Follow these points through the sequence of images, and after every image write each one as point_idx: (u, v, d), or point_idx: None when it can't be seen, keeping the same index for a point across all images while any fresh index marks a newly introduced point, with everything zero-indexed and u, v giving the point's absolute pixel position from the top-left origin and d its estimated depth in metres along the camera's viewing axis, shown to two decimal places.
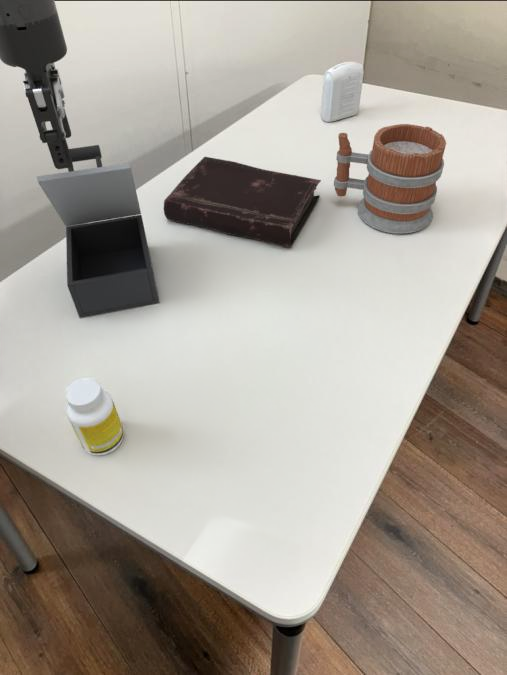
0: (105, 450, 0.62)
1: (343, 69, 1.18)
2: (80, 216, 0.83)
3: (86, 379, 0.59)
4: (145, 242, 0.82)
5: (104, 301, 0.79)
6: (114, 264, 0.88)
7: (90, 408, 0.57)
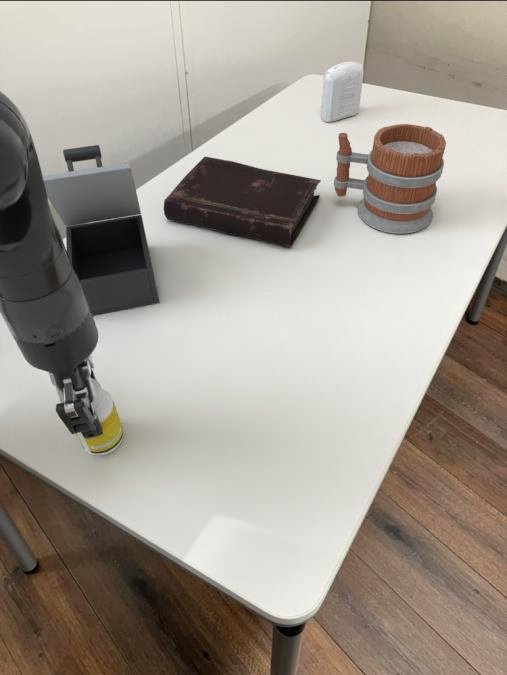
0: (105, 450, 0.62)
1: (343, 69, 1.18)
2: (80, 216, 0.83)
3: None
4: (145, 242, 0.82)
5: (104, 301, 0.79)
6: (114, 264, 0.88)
7: None
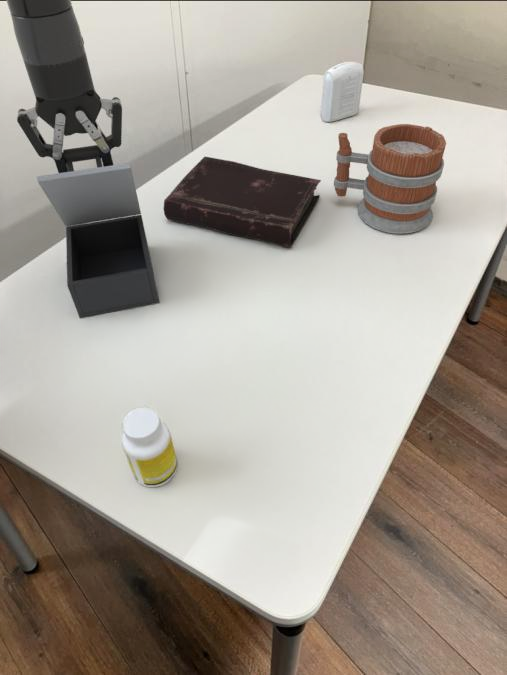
0: (160, 482, 0.59)
1: (343, 69, 1.18)
2: (80, 216, 0.83)
3: (143, 409, 0.56)
4: (145, 242, 0.82)
5: (104, 301, 0.79)
6: (114, 264, 0.88)
7: (149, 440, 0.54)
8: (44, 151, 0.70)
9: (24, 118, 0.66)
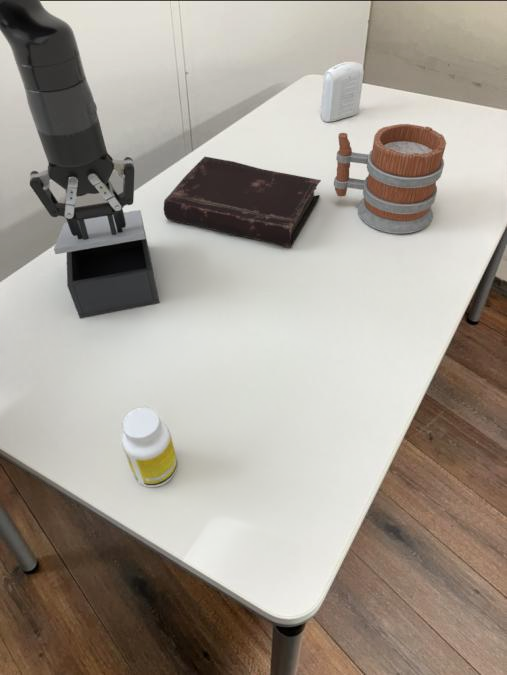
0: (160, 482, 0.59)
1: (343, 69, 1.18)
2: None
3: (143, 409, 0.56)
4: (145, 242, 0.82)
5: (104, 301, 0.79)
6: (114, 264, 0.88)
7: (149, 440, 0.54)
8: (56, 211, 0.70)
9: (37, 182, 0.66)
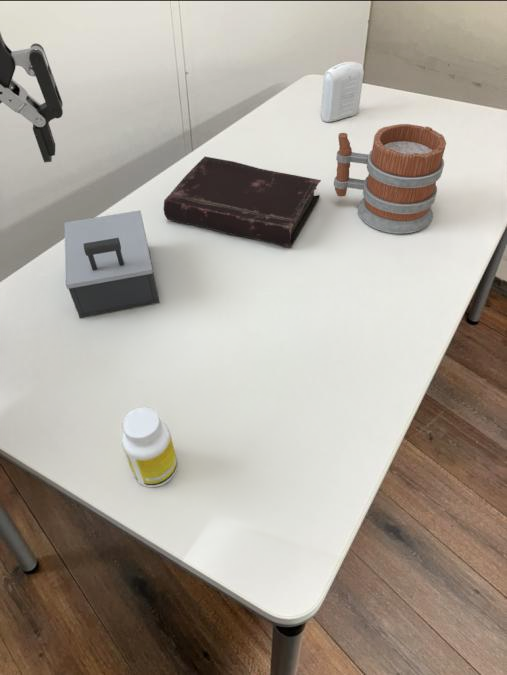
0: (160, 482, 0.59)
1: (343, 69, 1.18)
2: None
3: (143, 409, 0.56)
4: None
5: (104, 301, 0.79)
6: None
7: (149, 440, 0.54)
8: None
9: None
